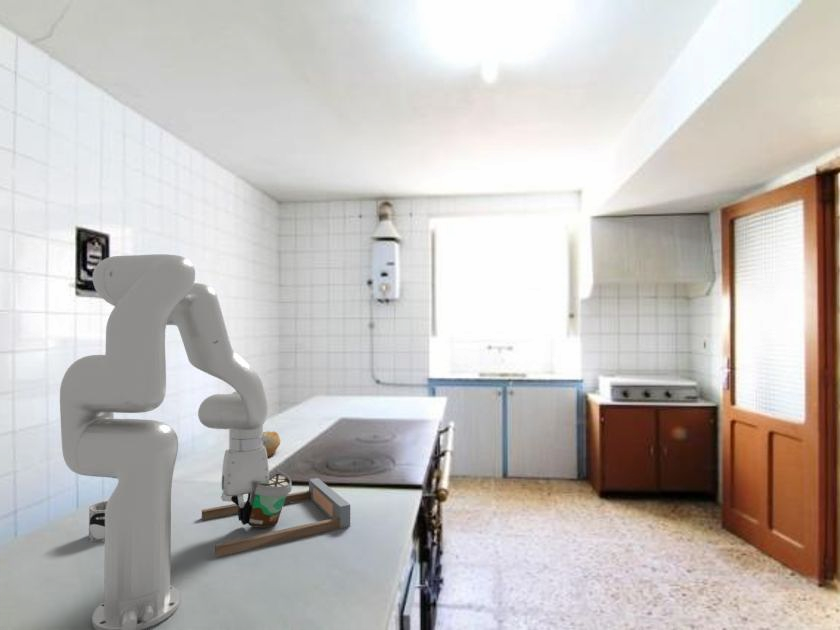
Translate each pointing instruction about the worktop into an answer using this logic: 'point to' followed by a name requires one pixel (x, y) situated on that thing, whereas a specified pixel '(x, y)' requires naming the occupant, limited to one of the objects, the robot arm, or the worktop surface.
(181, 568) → the worktop surface
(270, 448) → the bread roll
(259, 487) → the food container
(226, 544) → the guide track
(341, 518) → the end stop
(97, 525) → the mug
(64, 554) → the worktop surface
